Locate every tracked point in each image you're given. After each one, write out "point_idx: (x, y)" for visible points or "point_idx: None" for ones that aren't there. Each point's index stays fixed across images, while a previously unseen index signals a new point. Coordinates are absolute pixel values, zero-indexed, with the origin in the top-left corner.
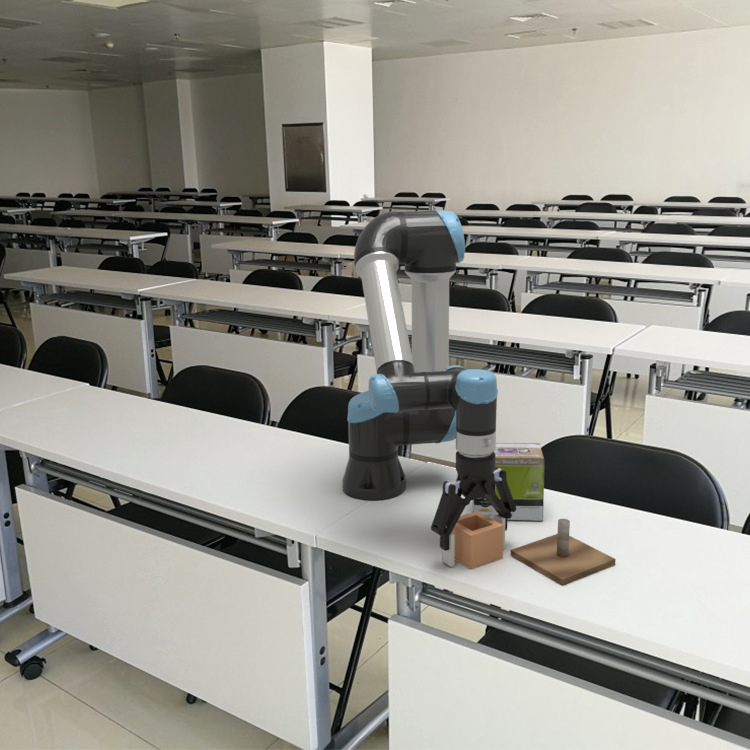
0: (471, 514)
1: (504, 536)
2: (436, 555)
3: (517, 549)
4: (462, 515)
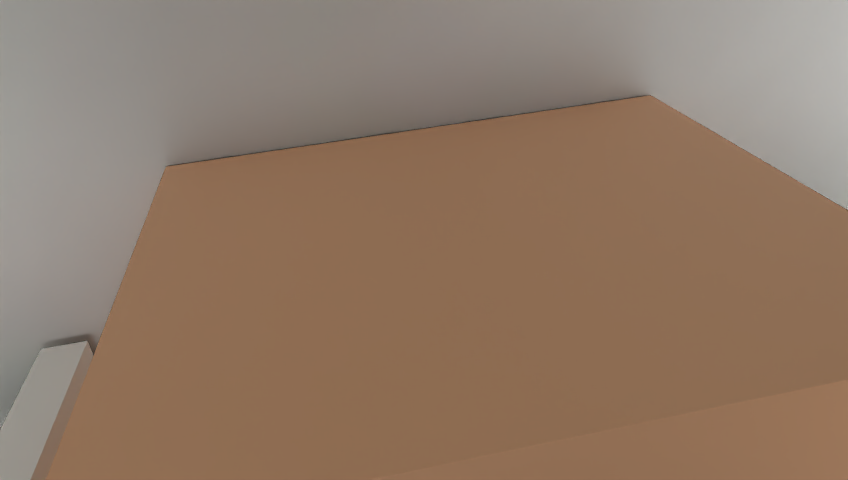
0: (818, 448)
1: None
2: (26, 172)
3: None
4: (616, 436)
